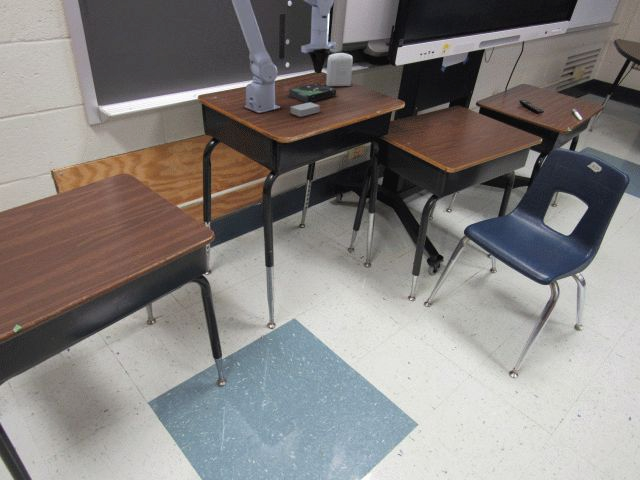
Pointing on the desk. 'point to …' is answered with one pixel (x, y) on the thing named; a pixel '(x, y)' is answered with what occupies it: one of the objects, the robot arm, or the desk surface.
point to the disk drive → (312, 92)
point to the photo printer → (339, 69)
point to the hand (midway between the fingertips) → (317, 72)
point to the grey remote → (305, 109)
